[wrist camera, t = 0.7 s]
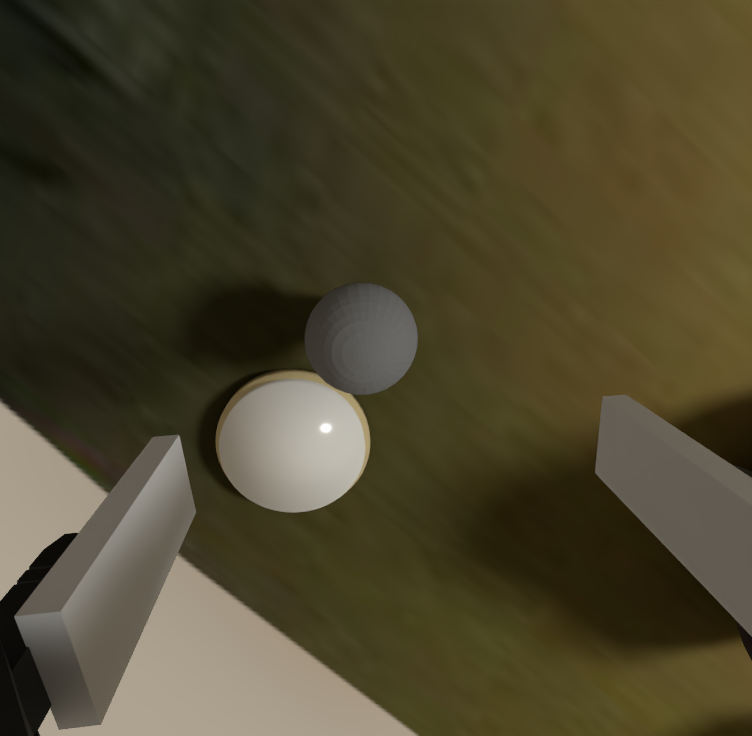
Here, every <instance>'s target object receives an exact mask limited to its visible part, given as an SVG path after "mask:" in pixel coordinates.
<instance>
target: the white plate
mask: <svg viewBox="0 0 752 736" xmlns="http://www.w3.org/2000/svg"><path fill="white" fill-rule="evenodd" d="M369 451H370V434H369V427H368V422H367V418H366V415H365V413H364V411H363V408H362V406H361V405H360V403H359V402H358V400H357V399H356V397H355V396H354V395H353V394H350V393H345V392H343V391H340V390H338V389H335V388H334V387H332V386H330V385H329V384H327V383H326V382H325V381H324V380H323V379H322V378H321V377H320V376H318V374H317V373H316V371H312V370H308V369H300V368H286V369H279V370H274V371H270V372H267V373H264V374H262V375H259V376H257V377H255V378H254V379H252V380H250V381H248V382H247V383H246V384H244V385H243V386H242V387H241V388H240V389H239V390H238V391H237V392H236V393H235V394H234V395H233V396H232V398H231V399H230V400H229V402H228V404H227V405H226V407H225V409H224V411H223V413H222V415H221V417H220V420H219V422H218V426H217V431H216V452H217V456H218V460H219V462H220V465H221V467H222V469H223V471H224V473H225V475H226V476H227V478H228V479H229V481H230V482H231V483H232V484H233V486H234V487H235V488H236V489H237V490H238V491H239V492H240V493H241V494H242V495H244V496H245V497H246V498H248V499H249V500H251V501H252V502H254V503H256V504H258V505H260V506H263V507H265V508H268V509H271V510H276V511H281V512H304V511H310V510H314V509H318V508H321V507H323V506H326V505H328V504H330V503H331V502H333V501H335V500H336V499H338V498H339V497H341V496H342V495H343V494H345V493H346V492H347V491H348V490H349V489H350V488H351V487H352V486H353V485H354V484H355V483H356V481H357V480H358V479H359V477H360V476H361V474H362V472H363V470H364V468H365V466H366V463H367V460H368V457H369Z"/></svg>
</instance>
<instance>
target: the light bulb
mask: <svg viewBox="0 0 752 736" xmlns="http://www.w3.org/2000/svg"><path fill="white" fill-rule="evenodd" d="M417 339H418V335H417V328H416V324H415V321H414V318H413V315H412V314H411V312H410V310H409V309H408V307H407V305H406V304H405V303H404V302H403V301H402V300H401V299H400V298H399V297H398V296H397V295H396V294H394V293H393V292H391V291H390V290H388V289H386V288H384V287H382V286H379V285H375V284H371V283H352V284H346V285H343V286H341V287H338V288H336V289H334V290H333V291H331V292H329V293H328V294H326V295H325V296H324V297H323V298H322V299H321V300H320V301H319V302H318V303H317V305H316V306H315V308H314V309H313V310H312V312H311V314H310V317H309V319H308V321H307V326H306V331H305V348H306V353H307V357H308V359H309V361H310V363H311V366H312V367H313V368H314V370H315V371H316V373H317V374H318V376H320V377H321V378H322V379H323V380H324V381H325V382H326V383H327V384H329V385H330V386H332V387H334V388H335V389H338V390H340V391H343V392H345V393H350V394H355V395H367V394H372V393H377V392H380V391H382V390H385V389H387V388H389V387H390V386H392V385H394V384H395V383H396V382H397V381H398V380H399V379H401V378H402V377H403V376H404V374H405V373H406V372H407V370H408V369H409V368H410V365H411V363H412V361H413V359H414V356H415V353H416V349H417Z"/></svg>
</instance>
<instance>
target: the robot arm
mask: <svg viewBox="0 0 752 736" xmlns="http://www.w3.org/2000/svg"><path fill="white" fill-rule="evenodd" d="M595 474H596V475H597V476H598V477H599V478H600V479H601V480H602V481H603V482H604V483H605V484H606V485H607V486H608V487H609V488H610V489H611V490H612V491H613V492H614V493H615V494H616V496H617V497H618V498H619V499H620V500H621V501H622V502H623V503H624V504H625V505H626V506H627V507H628V508H629V509H630V510H631V511H632V512H633V513H634V514H635V515H636V516H637V517H638V518H639V520H640V521H641V522H642V523H643V524H644V525H645V526H646V527H647V528H648V529H649V530H650V531H651V532H652V533H653V534H654V535H655V536H656V537H657V538H658V539H659V540H660V541H661V542H662V544H663V545H664V546H665V547H666V548H667V549H668V550H669V551H670V552H671V553H672V554H673V555H674V556H675V557H676V558H677V559H678V560H679V561H680V562H681V563H682V564H683V565H684V566H685V567H686V569H687V570H688V571H689V572H690V573H691V574H692V575H693V576H694V577H695V578H696V579H697V580H698V581H699V582H700V583H701V584H702V585H703V586H704V587H705V588H706V589H707V590H708V591H709V593H710V594H711V595H712V596H713V597H714V598H715V599H716V600H717V601H718V602H719V603H720V604H721V605H722V606H723V607H724V608H725V609H726V610H727V611H728V612H729V613H730V614H731V615H732V617H733V618H734V619H735V620H736V621H737V622H738V623H739V624H740V625H741V626H742V627H743V628H744V629H745V630H746V631H747V632H748V633H749V634H750V635H751V636H752V471H749V470H747V469H744V468H742V467H739V466H733V465H731V464H730V463H728V462H727V461H725V460H724V459H722V458H721V457H719V456H718V455H716V454H715V453H713V452H712V451H710V450H709V449H707V448H706V447H704V446H703V445H701V444H700V443H698V442H697V441H695V440H694V439H692V438H691V437H689V436H688V435H686V434H685V433H683V432H682V431H680V430H679V429H677V428H676V427H674V426H673V425H671V424H670V423H668V422H667V421H665V420H663V419H662V418H660V417H659V416H657V415H656V414H654V413H653V412H651V411H650V410H648V409H647V408H645V407H644V406H642V405H641V404H639V403H638V402H636V401H635V400H633V399H632V398H630V397H629V396H627V395H617V396H606V397H603V398H602V407H601V417H600V427H599V437H598V447H597V457H596V467H595ZM195 513H196V510H195V506H194V501H193V497H192V492H191V487H190V483H189V478H188V474H187V469H186V464H185V460H184V455H183V451H182V446H181V441H180V437H179V435H171V436H160V437H153V438H152V439H151V440H150V442H149V443H148V444H147V446H146V447H145V448H144V449H143V451H142V452H141V453H140V455H139V456H138V457H137V458H136V460H135V461H134V462H133V464H132V465H131V466H130V468H129V469H128V470H127V471H126V473H125V474H124V475H123V477H122V478H121V479H120V480H119V482H118V483H117V484H116V486H115V487H114V488H113V489H112V491H111V492H110V493H109V495H108V496H107V497H106V499H105V500H104V501H103V502H102V504H101V505H100V506H99V508H98V509H97V510H96V511H95V513H94V514H93V515H92V517H91V518H90V519H89V521H88V522H87V523H86V524H85V526H84V527H83V528H82V530H81V531H80V532H79V533H71V534H64V535H63V536H62V537H60V538H59V539H58V540H56V541H55V542H53V543H52V544H51V545H49V546H48V547H47V548H45V549H44V550H43V551H42V552H41V554H40V555H39V556H38V557H37V558H36V559H35V561H34V562H33V563H32V564H31V565H30V566H29V570H26V571H25V573H24V574H23V575H22V576H21V577H20V578H19V580H18V581H17V585H14V586H13V587H12V588H11V589H10V590H9V592H8V593H7V594H6V595H5V596H4V598H3V599H2V600H1V601H0V736H40V734H39V732H38V729H39V727H40V725H41V723H42V722H43V720H44V718H45V716H46V714H47V713H48V711H49V709H50V708H51V711H52V713H53V716H54V718H55V721H56V723H57V726H58V728H59V730H60V729H68V728H77V727H85V726H92V725H100V724H101V723H102V721H103V718H104V716H105V714H106V712H107V709H108V707H109V705H110V703H111V701H112V698H113V696H114V694H115V692H116V689H117V687H118V685H119V683H120V680H121V678H122V676H123V673H124V672H125V669H126V667H127V665H128V663H129V660H130V658H131V656H132V654H133V651H134V649H135V647H136V644H137V643H138V640H139V638H140V636H141V633H142V631H143V629H144V627H145V625H146V622H147V620H148V618H149V616H150V614H151V611H152V609H153V607H154V605H155V602H156V600H157V598H158V596H159V594H160V591H161V589H162V587H163V584H164V582H165V580H166V578H167V575H168V573H169V571H170V569H171V567H172V564H173V562H174V560H175V558H176V556H177V553H178V551H179V549H180V547H181V544H182V542H183V540H184V538H185V536H186V533H187V531H188V529H189V527H190V524H191V522H192V520H193V518H194V515H195Z"/></svg>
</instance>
